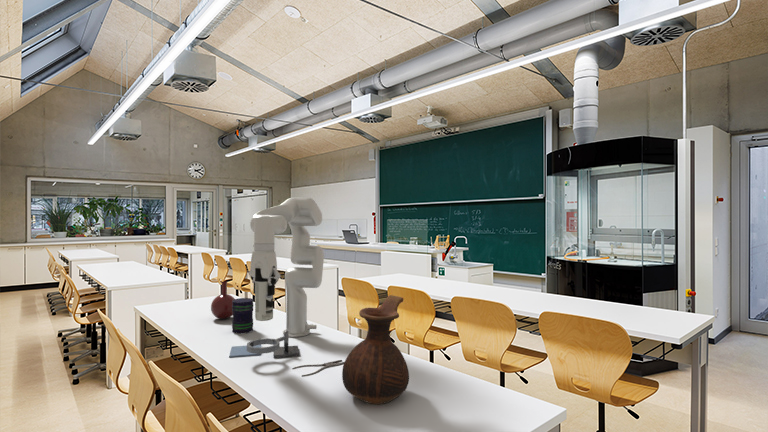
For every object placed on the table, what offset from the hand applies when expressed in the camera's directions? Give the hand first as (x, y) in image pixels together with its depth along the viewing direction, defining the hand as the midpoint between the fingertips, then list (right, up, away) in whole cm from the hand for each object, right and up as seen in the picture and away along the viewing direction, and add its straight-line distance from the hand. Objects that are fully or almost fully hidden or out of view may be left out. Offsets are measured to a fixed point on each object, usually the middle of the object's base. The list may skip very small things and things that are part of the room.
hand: (264, 293), depth 159 cm
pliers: (+21, -27, -3) cm, 35 cm away
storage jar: (-23, -26, +42) cm, 55 cm away
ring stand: (+2, -26, +5) cm, 27 cm away
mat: (-11, -26, +12) cm, 31 cm away
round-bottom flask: (-40, -26, +64) cm, 80 cm away
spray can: (0, -10, 0) cm, 10 cm away
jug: (+44, -27, -27) cm, 58 cm away
